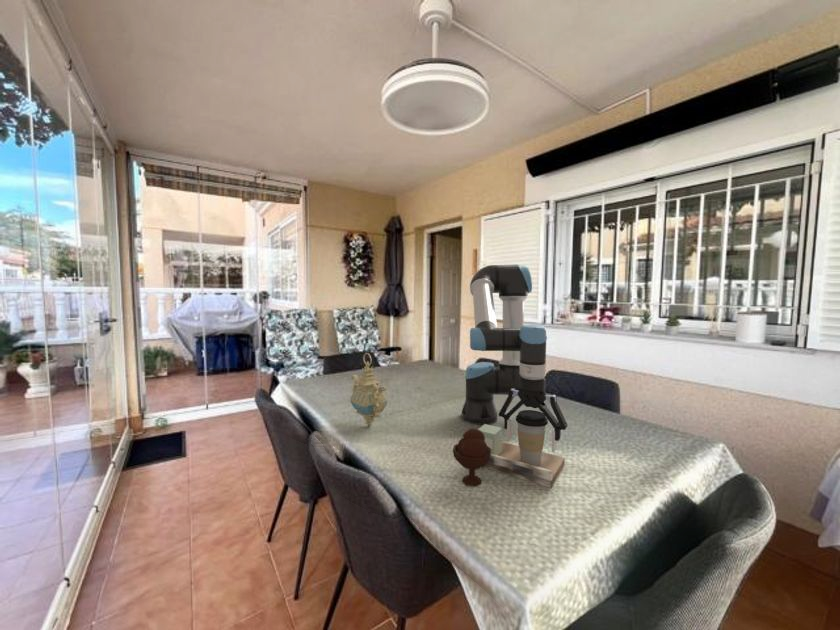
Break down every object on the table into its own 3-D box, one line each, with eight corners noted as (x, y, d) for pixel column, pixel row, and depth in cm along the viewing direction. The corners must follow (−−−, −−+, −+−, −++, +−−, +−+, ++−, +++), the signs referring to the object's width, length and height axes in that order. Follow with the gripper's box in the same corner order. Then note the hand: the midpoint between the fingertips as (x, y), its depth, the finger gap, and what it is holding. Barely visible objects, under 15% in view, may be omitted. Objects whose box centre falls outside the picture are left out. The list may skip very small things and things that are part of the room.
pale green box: (476, 454, 114) (476, 430, 114) (484, 447, 119) (484, 424, 119) (494, 459, 111) (494, 434, 110) (501, 451, 116) (501, 427, 115)
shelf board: (472, 464, 112) (472, 450, 112) (492, 445, 125) (492, 432, 125) (550, 488, 99) (551, 472, 98) (564, 463, 112) (564, 450, 111)
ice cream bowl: (449, 472, 107) (449, 424, 106) (485, 470, 108) (486, 422, 107) (456, 492, 97) (456, 439, 95) (496, 490, 98) (496, 437, 96)
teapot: (342, 421, 148) (340, 350, 146) (366, 415, 156) (364, 347, 153) (372, 440, 130) (370, 359, 127) (397, 432, 137) (396, 355, 135)
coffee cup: (515, 468, 106) (516, 419, 104) (514, 453, 115) (514, 408, 114) (549, 471, 104) (550, 421, 102) (544, 455, 113) (545, 410, 112)
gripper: (488, 373, 111) (488, 439, 113) (573, 385, 97) (571, 460, 99) (497, 368, 117) (497, 431, 119) (579, 379, 103) (577, 450, 105)
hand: (531, 444), depth 109 cm, fingers open, 13 cm apart
